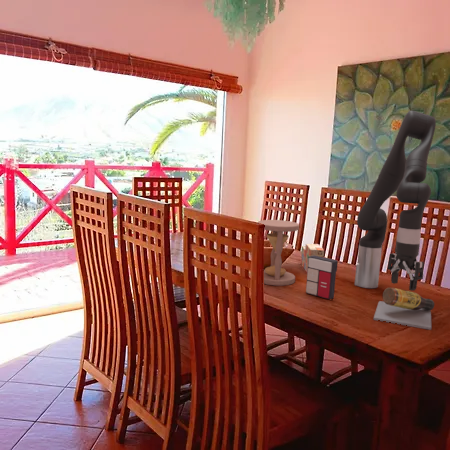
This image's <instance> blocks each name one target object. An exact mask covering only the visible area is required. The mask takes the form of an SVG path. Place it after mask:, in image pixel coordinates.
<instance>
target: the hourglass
mask: <svg viewBox="0 0 450 450" xmlns="http://www.w3.org/2000/svg"><path fill="white" fill-rule="evenodd" d="M258 223H262V224H264V225H265V230H264V231H269V233H267V234H266V238H267V239H268V241H269V243H270V245H271V246H272V247H271V248H272V250H271V252H270V266H267V267H265V269H263V270H264V285H267V286H268V285H269V286H278V287H280V286H281V287H282V286H283V287H284V286H289V285H293V284H295V282H296V275H294V273H291V272H289V271H286V269H285V268H284V267H282V265H283V261H282V256H281V255H282V252H283V250H284V244H285V243H286V242H287V240H288V239H289V237H290V236H289V234H285V233H287V232H289V233H290V232H291V233H292V232H297V231H299V229H300V224H299V223H297V222H294V221H289V220H280V219H264V220H263V219H262V220H258V221H257V224H258ZM270 232H271V233H270Z"/></svg>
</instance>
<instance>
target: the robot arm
mask: <svg viewBox="0 0 450 450" xmlns="http://www.w3.org/2000/svg"><path fill="white" fill-rule="evenodd" d="M436 121H437V120H436V118H435V117H434V116H432V115H429V114H425V113H423V112H420V111H415V110H409V111H407V113H406V114H405V116H404V117H403V119H402V122H401V124H400V126H399V129H398V132H397V135H396V137H395V140H394V142H393V145H392V148H391V149H390V151H389V154H388V156H387V158H386V160H385V161H384V164H383V166H382V167H381V170H380V172H379V174H378V177H377V179H376V181H375V183H374V185H373V187H372V189H371V191H370V193H369V195H368V197H367V199H366V201H364V204H363V206H362V207H361V209H360V211H359V213H358V215H357V218H356V220H357V221H356V223H357V226H358V228H359V229H360V230H361V231H367V232H366V234H365V235H364V236H362V237H360V239H359V242H358V243H359V244H358V253H357V254H358V255H357V261H356V266H355V278H354V286H356V287H360V288H365V289H377V288H378V287H379V278H380V269H381V259H382V249H383V244H384V241H385V239H386V233H387V225H388V215H387V212H386V211H385V210H384V209H383V208H381V207H382V206H383V204H384V203H385V202H386V201H387V200H388V199H390V198H391V196H393V195H394V194H395V193H396V194H395V195H396V198H397V200H398V201H399V202H401V203H403V204H404V203H405V204H415V205H416V204H417V205H416V206H415V208H411V209H404V210H402V211H400V213H399V221H398V229H397V232H396V241H395V249H394V250H395V253H394V252H393V253H389V255H388V263H387V270H389V271H390V273H391V277H390V278H391V279H390V280H391V284H398V281H399V274H400V273H399V272H400V271H401V270H403V271H405V272H406V273H407V274H408V276H409V278H410V279H409V285H408V286H409V287H408V291H410V292H413V291H416V290H417V287H418V285H417V284H418V281H419V280H423V279H424V272H425V271H424V270H425V269H424V268H425V262H424V261H418V260H417V257H418V256H419V253H420V244H421V236H422V235H421V234H422V233H421V231H422V230H421V229H422V223H423V222H422V221H423V215H424V212H425V209H426V207H427V204H428V202H429V200H430V197H431V195H432V189H431V187H430V185H429V184H428V183H426V182H425V183H424V181H425V180H426V177H427V169H428V168H427V166H428V160H429V159H428V156H429V153H430V150H431V146H432V143H433V138H434V134H435V130H436V126H437V125H436V124H437V123H436ZM408 137H410V138H413V139H417V140H420V144H419V145H418V146H417V147H416V148H415V149H413V150H412V151H411V152H410V153H409V154H408V155H407V156H406V153H405V145H406V140H407V138H408Z"/></svg>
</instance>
